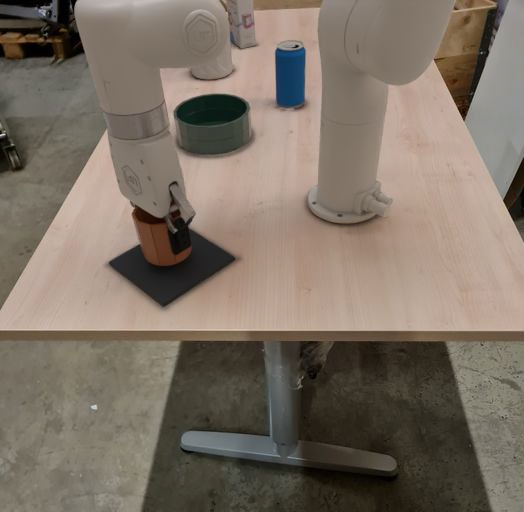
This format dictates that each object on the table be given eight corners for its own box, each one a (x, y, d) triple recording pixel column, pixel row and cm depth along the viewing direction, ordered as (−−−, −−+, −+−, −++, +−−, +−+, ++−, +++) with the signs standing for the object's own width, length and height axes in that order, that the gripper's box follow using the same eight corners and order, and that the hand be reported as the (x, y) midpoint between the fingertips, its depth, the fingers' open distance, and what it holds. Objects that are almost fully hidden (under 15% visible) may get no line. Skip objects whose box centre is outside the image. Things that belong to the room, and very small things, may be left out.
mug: (239, 75, 121) (235, 29, 114) (198, 83, 119) (192, 37, 111) (222, 57, 130) (217, 14, 122) (183, 65, 127) (176, 21, 120)
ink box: (228, 40, 138) (224, -10, 129) (244, 36, 139) (241, -13, 130) (240, 49, 133) (236, -3, 124) (256, 45, 134) (254, -6, 125)
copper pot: (201, 248, 73) (195, 208, 67) (162, 273, 69) (152, 232, 64) (172, 230, 76) (163, 190, 71) (133, 252, 73) (121, 212, 68)
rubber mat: (235, 259, 74) (235, 256, 74) (163, 307, 68) (162, 304, 68) (179, 224, 81) (178, 221, 81) (109, 264, 75) (108, 261, 75)
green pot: (266, 136, 100) (265, 106, 95) (211, 165, 93) (207, 135, 88) (218, 115, 107) (214, 87, 102) (164, 141, 100) (158, 112, 96)
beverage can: (302, 111, 106) (303, 50, 97) (273, 109, 107) (272, 49, 98) (306, 98, 110) (307, 39, 101) (279, 97, 112) (277, 38, 102)
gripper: (72, 108, 60) (111, 226, 74) (154, 152, 52) (182, 277, 65) (121, 89, 63) (151, 206, 77) (207, 128, 55) (223, 251, 69)
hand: (165, 238), depth 71 cm, fingers closed on copper pot, 7 cm apart
